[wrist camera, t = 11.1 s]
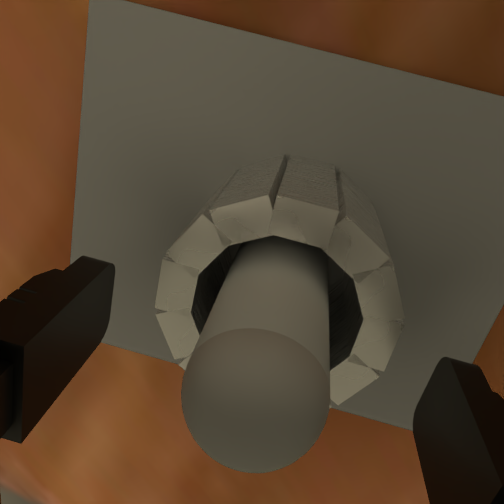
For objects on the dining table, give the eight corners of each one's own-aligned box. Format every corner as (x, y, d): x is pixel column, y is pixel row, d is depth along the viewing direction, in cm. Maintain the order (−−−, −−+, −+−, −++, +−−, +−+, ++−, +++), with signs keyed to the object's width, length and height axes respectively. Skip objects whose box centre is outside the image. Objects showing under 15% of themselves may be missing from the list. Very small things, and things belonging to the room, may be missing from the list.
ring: (406, 184, 15) (442, 238, 11) (347, 340, 18) (355, 437, 13) (220, 135, 16) (177, 168, 11) (188, 296, 18) (143, 377, 14)
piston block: (568, 113, 16) (1075, 231, 5) (423, 403, 21) (524, 753, 10) (116, -1, 16) (-267, -109, 6) (87, 308, 22) (-139, 548, 11)
